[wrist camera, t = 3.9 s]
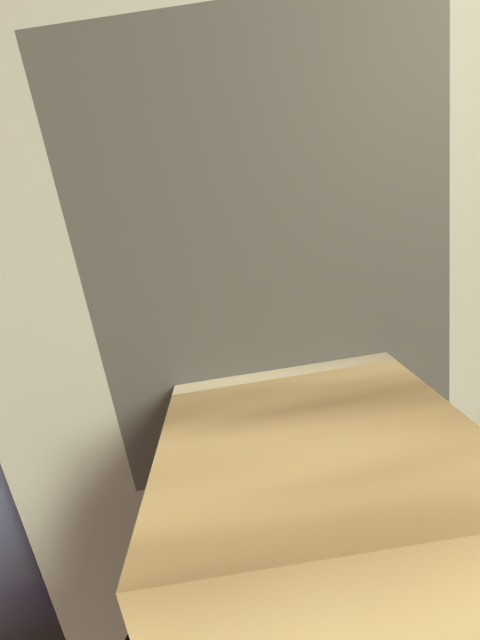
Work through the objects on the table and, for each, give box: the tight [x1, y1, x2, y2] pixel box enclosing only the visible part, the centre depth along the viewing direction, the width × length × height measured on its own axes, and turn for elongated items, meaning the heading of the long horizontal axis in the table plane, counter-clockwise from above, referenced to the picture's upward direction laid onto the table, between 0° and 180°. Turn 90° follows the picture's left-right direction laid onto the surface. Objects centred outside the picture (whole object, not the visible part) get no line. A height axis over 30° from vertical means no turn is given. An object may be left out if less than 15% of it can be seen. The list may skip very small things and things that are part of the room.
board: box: [0, 0, 480, 640], centre depth 9 cm, size 20×14×1 cm
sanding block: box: [116, 352, 480, 640], centre depth 7 cm, size 9×5×5 cm, turn 8°
